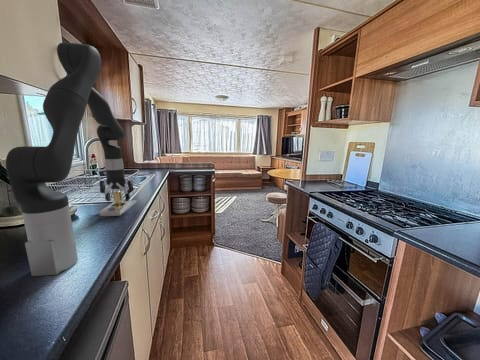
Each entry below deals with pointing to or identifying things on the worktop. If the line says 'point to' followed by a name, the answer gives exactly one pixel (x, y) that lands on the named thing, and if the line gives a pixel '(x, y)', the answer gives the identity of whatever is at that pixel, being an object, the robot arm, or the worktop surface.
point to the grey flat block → (117, 208)
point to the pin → (118, 198)
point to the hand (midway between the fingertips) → (118, 200)
